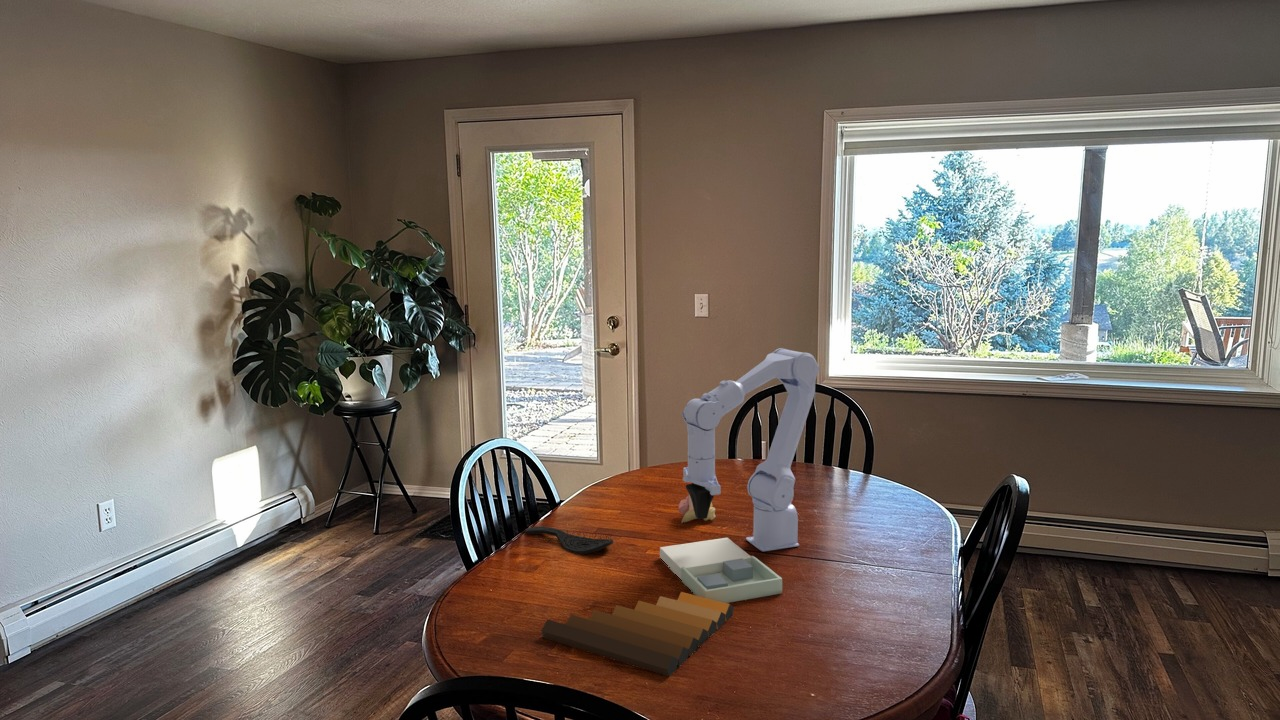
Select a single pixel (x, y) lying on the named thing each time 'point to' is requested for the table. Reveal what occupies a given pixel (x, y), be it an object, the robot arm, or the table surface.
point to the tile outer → (712, 581)
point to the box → (738, 584)
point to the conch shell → (688, 510)
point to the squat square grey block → (737, 569)
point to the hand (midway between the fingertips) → (701, 517)
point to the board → (702, 556)
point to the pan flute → (645, 631)
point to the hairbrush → (573, 540)
